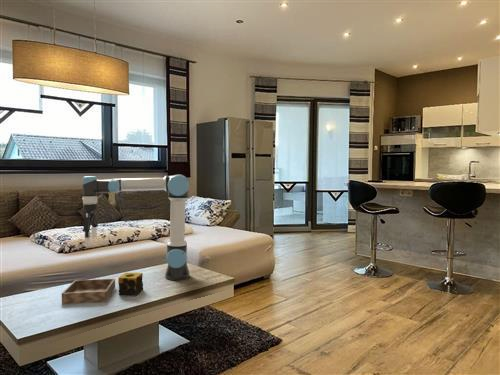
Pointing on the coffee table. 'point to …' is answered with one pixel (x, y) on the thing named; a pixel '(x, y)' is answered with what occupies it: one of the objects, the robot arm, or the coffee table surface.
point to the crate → (88, 291)
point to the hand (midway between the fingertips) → (91, 240)
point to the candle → (130, 284)
